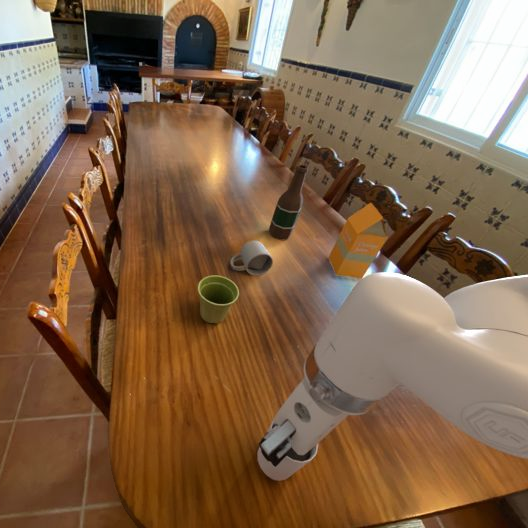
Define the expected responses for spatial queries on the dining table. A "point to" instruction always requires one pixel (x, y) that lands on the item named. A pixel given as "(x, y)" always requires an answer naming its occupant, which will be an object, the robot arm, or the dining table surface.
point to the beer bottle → (288, 206)
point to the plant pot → (216, 297)
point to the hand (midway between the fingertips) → (291, 435)
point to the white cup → (285, 461)
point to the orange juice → (358, 243)
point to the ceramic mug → (253, 258)
